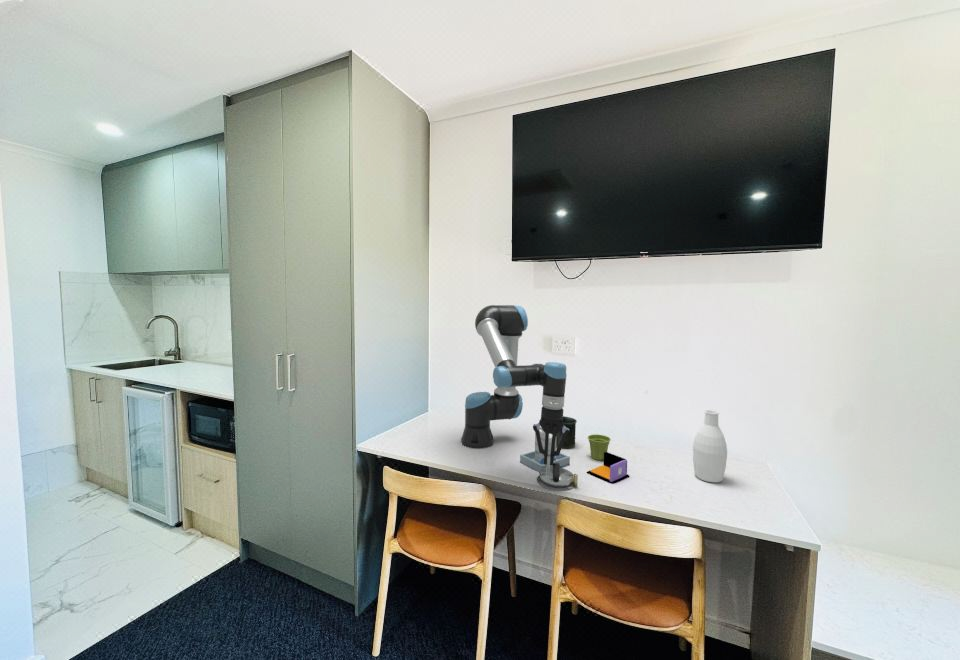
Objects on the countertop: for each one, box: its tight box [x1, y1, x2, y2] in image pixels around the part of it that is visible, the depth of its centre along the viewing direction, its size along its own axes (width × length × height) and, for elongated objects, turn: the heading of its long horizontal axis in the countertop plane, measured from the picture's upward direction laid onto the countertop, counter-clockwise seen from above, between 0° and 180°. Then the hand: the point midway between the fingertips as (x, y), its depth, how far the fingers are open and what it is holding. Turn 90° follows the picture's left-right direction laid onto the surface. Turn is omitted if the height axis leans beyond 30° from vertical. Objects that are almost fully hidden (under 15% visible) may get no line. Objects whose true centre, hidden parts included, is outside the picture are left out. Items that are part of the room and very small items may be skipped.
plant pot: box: [587, 433, 612, 461], centre depth 158 cm, size 9×9×9 cm
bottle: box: [692, 409, 728, 484], centre depth 141 cm, size 11×11×25 cm
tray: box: [519, 450, 571, 474], centre depth 151 cm, size 13×16×4 cm
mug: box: [556, 415, 578, 450], centre depth 173 cm, size 11×15×12 cm
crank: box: [539, 462, 574, 488], centre depth 135 cm, size 12×12×8 cm
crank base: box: [536, 473, 579, 492], centre depth 135 cm, size 14×14×5 cm
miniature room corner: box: [586, 451, 631, 485], centre depth 142 cm, size 12×12×7 cm
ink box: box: [534, 426, 557, 464], centre depth 151 cm, size 9×5×15 cm, turn 26°
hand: (547, 473), depth 130 cm, fingers closed
